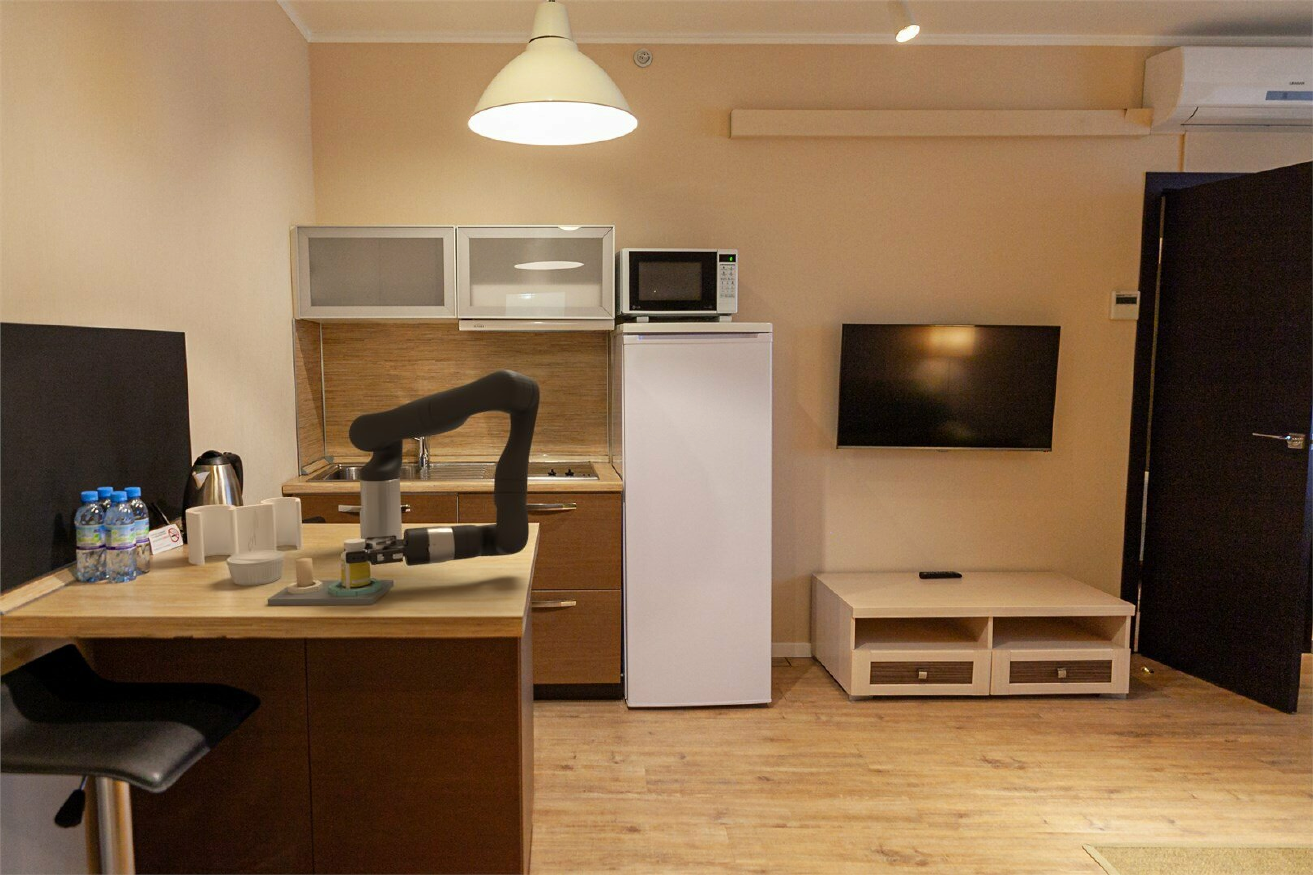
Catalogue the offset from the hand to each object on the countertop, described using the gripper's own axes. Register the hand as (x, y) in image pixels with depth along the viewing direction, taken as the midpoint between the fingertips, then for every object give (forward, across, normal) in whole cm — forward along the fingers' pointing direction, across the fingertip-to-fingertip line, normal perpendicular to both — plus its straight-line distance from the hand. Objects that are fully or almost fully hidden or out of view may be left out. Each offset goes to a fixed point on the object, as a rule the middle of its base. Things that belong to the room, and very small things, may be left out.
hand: (344, 553), depth 166 cm
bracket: (+20, -47, +9) cm, 52 cm away
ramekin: (+17, -20, +9) cm, 28 cm away
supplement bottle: (-2, 0, +8) cm, 8 cm away
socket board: (+3, -2, +9) cm, 9 cm away
